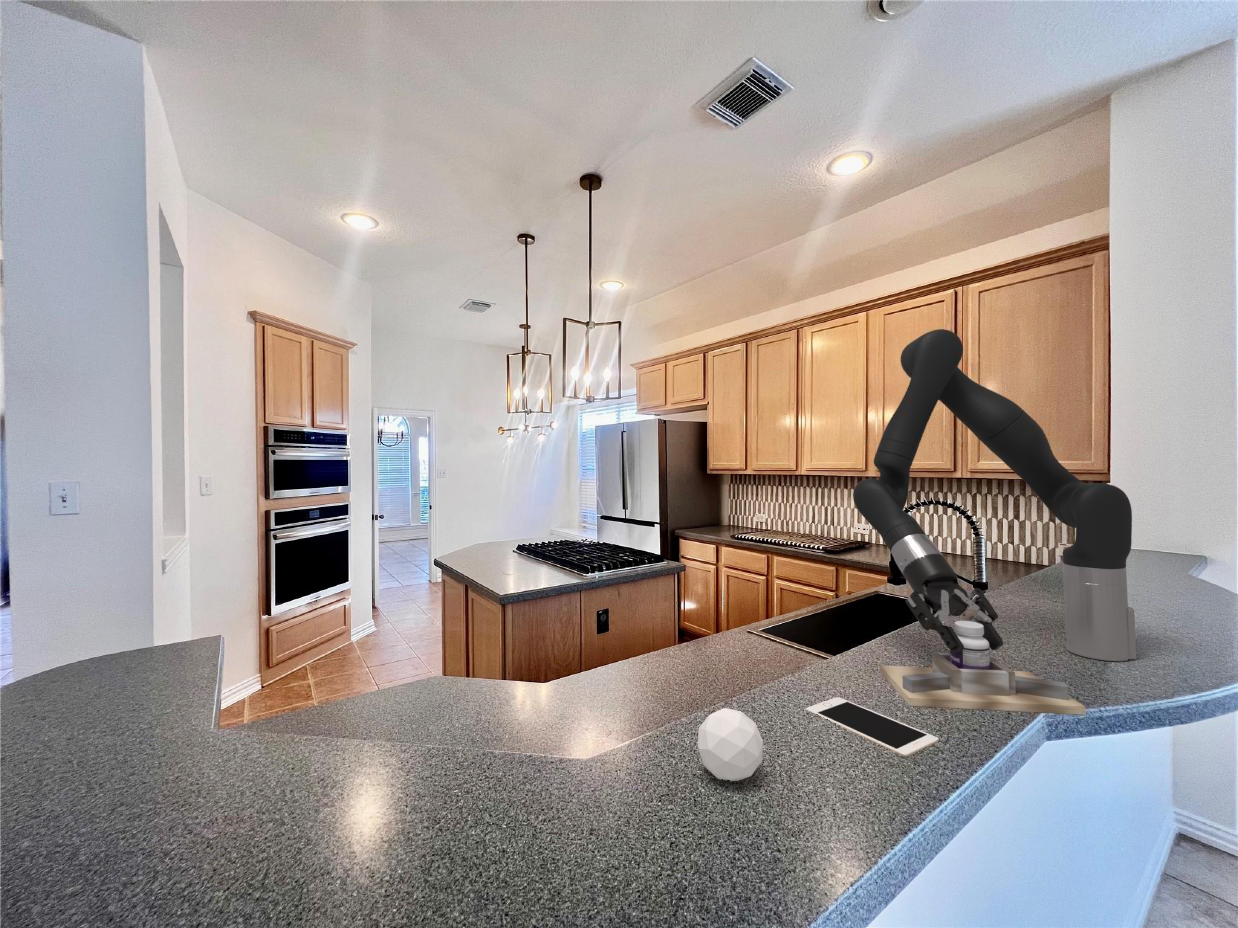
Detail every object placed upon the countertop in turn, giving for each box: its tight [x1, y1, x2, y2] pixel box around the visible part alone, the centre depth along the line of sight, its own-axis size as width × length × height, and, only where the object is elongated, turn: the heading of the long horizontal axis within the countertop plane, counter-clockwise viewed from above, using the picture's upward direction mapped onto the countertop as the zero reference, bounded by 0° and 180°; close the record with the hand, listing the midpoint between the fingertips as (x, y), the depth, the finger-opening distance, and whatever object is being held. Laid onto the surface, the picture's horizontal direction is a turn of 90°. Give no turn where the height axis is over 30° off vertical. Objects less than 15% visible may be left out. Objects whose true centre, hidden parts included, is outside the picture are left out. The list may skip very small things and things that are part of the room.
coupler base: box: [879, 652, 1087, 716], centre depth 86 cm, size 24×14×5 cm, turn 80°
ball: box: [697, 707, 764, 782], centre depth 63 cm, size 8×8×8 cm
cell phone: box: [805, 696, 939, 757], centre depth 76 cm, size 8×16×1 cm, turn 30°
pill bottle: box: [949, 620, 991, 670], centre depth 86 cm, size 5×5×10 cm
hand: (978, 648), depth 85 cm, fingers open, 6 cm apart
